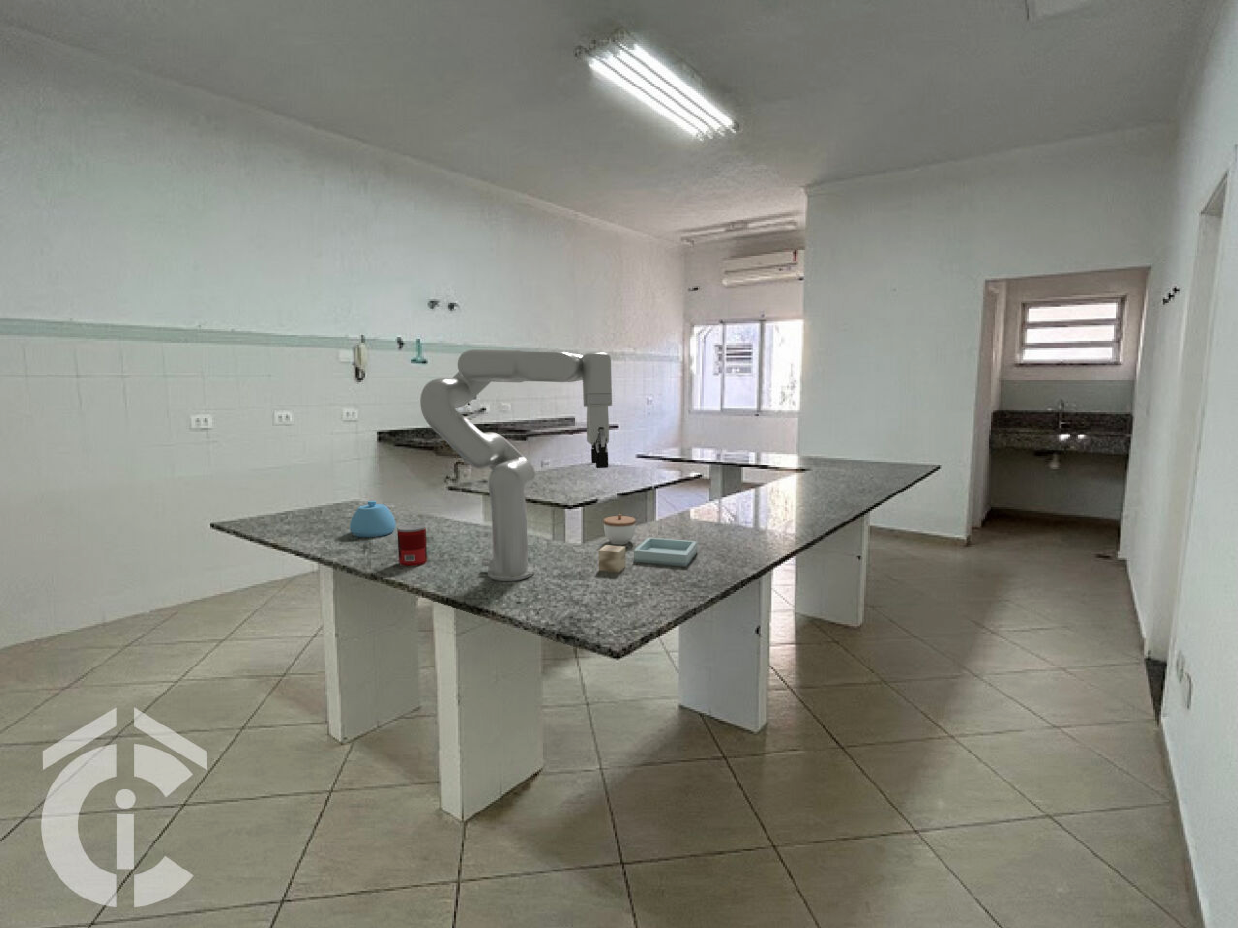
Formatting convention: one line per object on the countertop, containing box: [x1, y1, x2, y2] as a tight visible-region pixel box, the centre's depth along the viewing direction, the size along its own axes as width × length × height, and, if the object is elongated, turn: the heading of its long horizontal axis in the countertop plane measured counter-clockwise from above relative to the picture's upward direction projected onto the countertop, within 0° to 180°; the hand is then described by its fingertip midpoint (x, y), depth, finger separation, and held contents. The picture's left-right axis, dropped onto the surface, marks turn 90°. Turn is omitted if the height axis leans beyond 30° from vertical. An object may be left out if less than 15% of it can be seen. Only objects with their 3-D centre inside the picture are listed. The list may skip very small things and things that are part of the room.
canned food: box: [396, 523, 428, 567], centre depth 183 cm, size 8×8×11 cm
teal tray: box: [633, 537, 698, 568], centre depth 189 cm, size 16×16×4 cm
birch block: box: [598, 544, 626, 573], centre depth 177 cm, size 6×6×6 cm
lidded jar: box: [602, 513, 637, 546], centre depth 206 cm, size 11×11×9 cm
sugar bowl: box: [349, 500, 397, 538], centre depth 218 cm, size 15×15×12 cm
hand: (599, 465), depth 164 cm, fingers open, 9 cm apart
